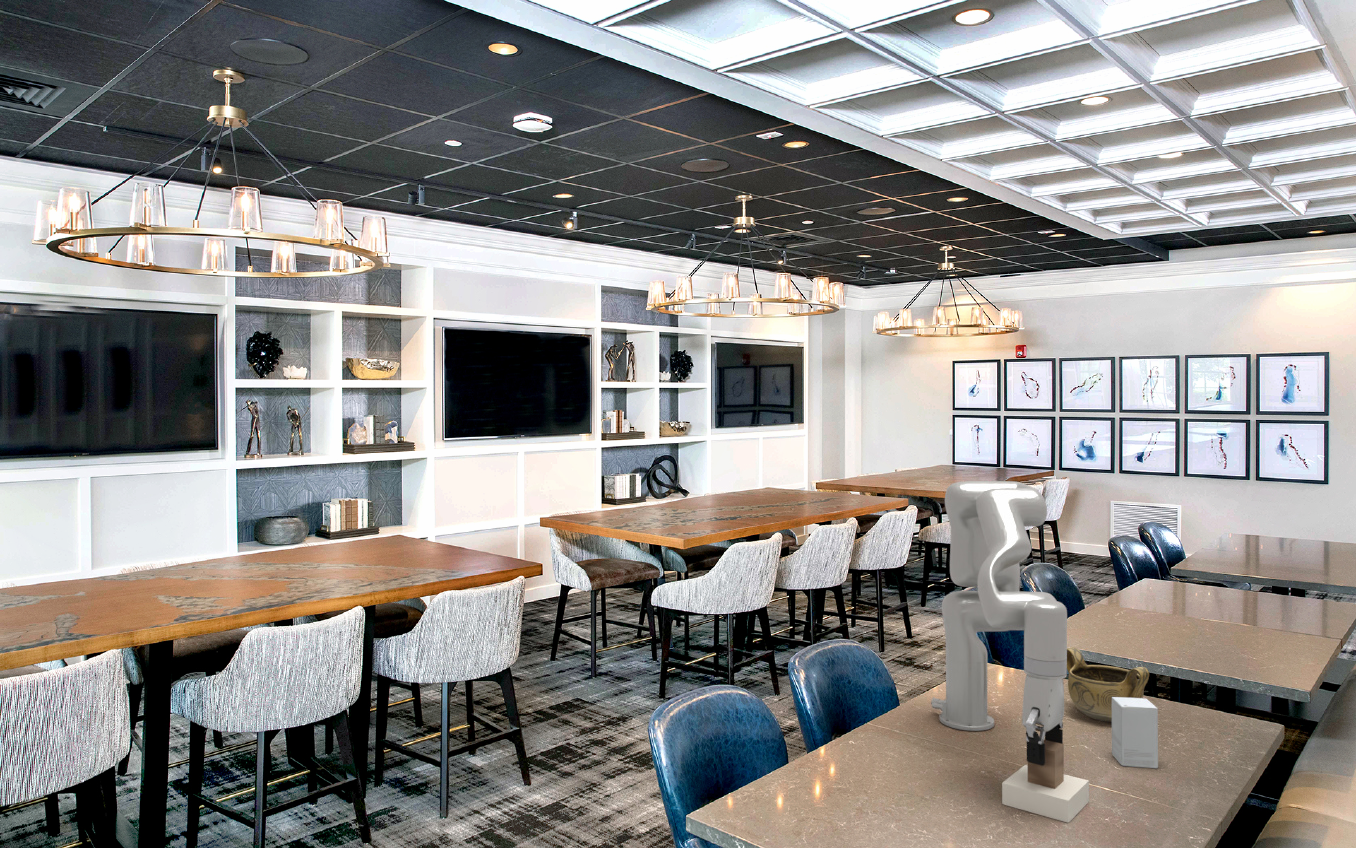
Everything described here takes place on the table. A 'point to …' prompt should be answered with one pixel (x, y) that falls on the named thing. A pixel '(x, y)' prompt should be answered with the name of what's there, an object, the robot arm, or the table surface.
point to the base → (1046, 796)
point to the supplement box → (1135, 732)
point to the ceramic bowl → (1101, 685)
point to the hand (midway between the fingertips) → (1044, 756)
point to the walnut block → (1049, 767)
